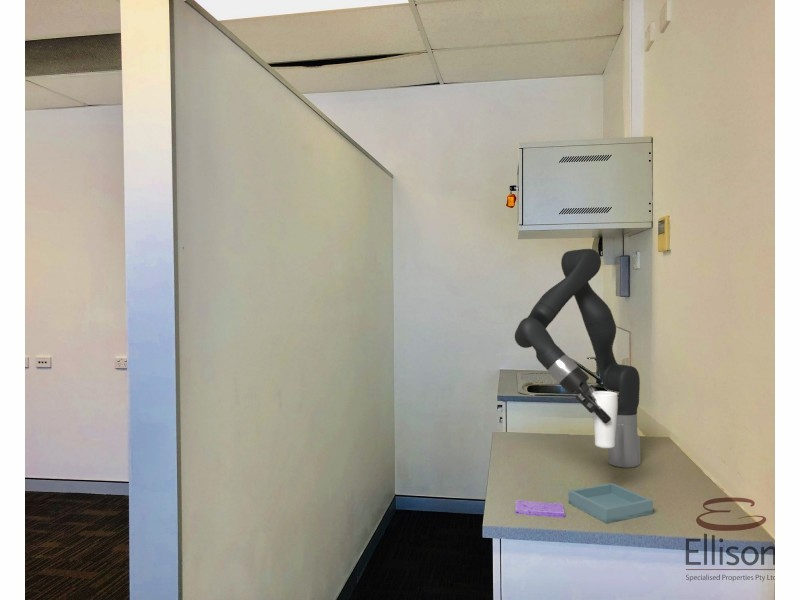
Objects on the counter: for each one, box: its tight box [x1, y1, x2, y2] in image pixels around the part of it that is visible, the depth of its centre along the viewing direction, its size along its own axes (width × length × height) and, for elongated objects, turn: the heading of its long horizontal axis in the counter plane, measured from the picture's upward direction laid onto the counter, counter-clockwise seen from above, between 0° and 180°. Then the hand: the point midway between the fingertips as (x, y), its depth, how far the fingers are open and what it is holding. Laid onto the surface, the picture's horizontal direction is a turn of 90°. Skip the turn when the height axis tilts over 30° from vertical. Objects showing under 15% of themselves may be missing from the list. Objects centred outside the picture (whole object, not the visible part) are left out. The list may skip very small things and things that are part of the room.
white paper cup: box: [592, 390, 619, 449], centre depth 158 cm, size 7×7×15 cm
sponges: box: [515, 499, 566, 519], centre depth 150 cm, size 7×13×2 cm, turn 77°
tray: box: [567, 482, 654, 524], centre depth 151 cm, size 15×15×4 cm
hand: (610, 418), depth 157 cm, fingers closed on white paper cup, 6 cm apart
